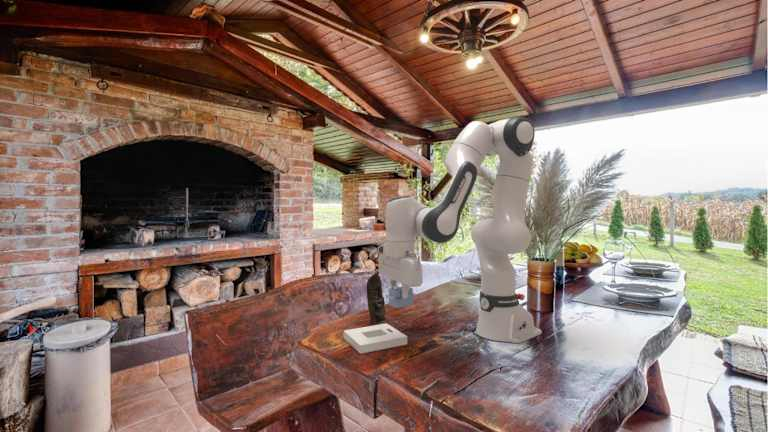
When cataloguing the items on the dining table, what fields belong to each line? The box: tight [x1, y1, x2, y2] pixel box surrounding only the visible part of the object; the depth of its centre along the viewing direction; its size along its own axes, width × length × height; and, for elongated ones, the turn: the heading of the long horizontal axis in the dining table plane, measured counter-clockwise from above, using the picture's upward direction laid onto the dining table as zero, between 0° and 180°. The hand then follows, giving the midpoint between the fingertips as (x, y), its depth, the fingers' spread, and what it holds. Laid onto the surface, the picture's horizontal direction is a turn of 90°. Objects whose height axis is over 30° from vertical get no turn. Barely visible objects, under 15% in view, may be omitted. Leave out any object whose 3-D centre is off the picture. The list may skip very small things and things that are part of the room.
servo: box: [384, 285, 417, 309], centre depth 107 cm, size 8×4×6 cm, turn 117°
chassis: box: [343, 323, 408, 355], centre depth 114 cm, size 16×14×3 cm
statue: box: [366, 269, 389, 326], centre depth 130 cm, size 7×7×20 cm
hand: (399, 295), depth 107 cm, fingers closed on servo, 4 cm apart
